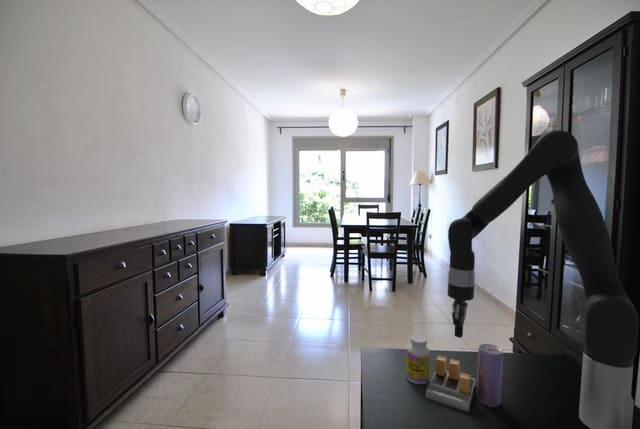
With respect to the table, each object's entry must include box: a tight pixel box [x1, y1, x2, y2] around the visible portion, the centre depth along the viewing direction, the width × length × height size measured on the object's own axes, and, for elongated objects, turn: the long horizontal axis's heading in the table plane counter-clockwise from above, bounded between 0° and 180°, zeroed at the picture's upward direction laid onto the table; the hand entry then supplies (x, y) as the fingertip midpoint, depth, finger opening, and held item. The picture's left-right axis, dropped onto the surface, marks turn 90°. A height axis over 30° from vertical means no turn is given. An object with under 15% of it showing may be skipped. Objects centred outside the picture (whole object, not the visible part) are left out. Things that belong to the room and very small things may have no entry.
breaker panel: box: [425, 370, 476, 413], centre depth 94 cm, size 11×14×3 cm
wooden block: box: [435, 355, 447, 376], centre depth 99 cm, size 2×3×5 cm
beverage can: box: [476, 343, 504, 408], centre depth 89 cm, size 6×6×15 cm
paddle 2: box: [448, 358, 461, 380], centre depth 97 cm, size 2×3×5 cm
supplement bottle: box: [405, 335, 431, 385], centre depth 100 cm, size 7×7×13 cm
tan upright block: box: [459, 371, 472, 394], centre depth 90 cm, size 2×3×5 cm
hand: (458, 336), depth 102 cm, fingers closed
